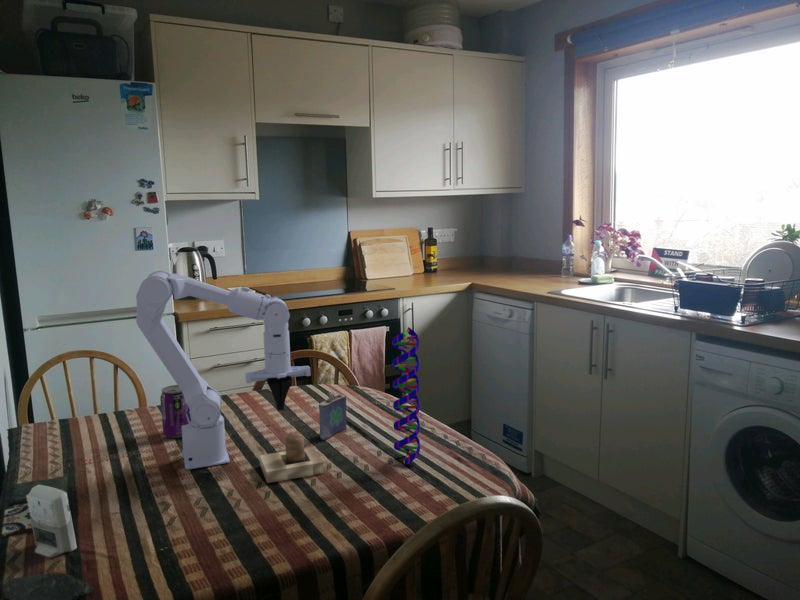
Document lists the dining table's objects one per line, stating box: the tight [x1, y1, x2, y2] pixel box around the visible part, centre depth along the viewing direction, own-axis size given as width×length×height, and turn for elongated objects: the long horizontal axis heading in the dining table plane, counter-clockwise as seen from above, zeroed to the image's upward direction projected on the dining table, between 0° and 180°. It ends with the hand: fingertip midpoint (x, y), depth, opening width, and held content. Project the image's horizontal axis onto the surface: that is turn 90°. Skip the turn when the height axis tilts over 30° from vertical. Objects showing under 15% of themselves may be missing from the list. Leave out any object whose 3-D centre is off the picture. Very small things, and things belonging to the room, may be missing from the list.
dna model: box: [391, 327, 421, 466], centre depth 140 cm, size 6×6×30 cm
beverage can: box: [159, 384, 191, 439], centre depth 159 cm, size 7×7×12 cm
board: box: [259, 446, 324, 484], centre depth 138 cm, size 12×9×2 cm
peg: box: [284, 434, 305, 465], centre depth 139 cm, size 4×4×7 cm
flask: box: [318, 391, 348, 441], centre depth 158 cm, size 9×3×11 cm, turn 146°
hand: (279, 408), depth 147 cm, fingers closed
